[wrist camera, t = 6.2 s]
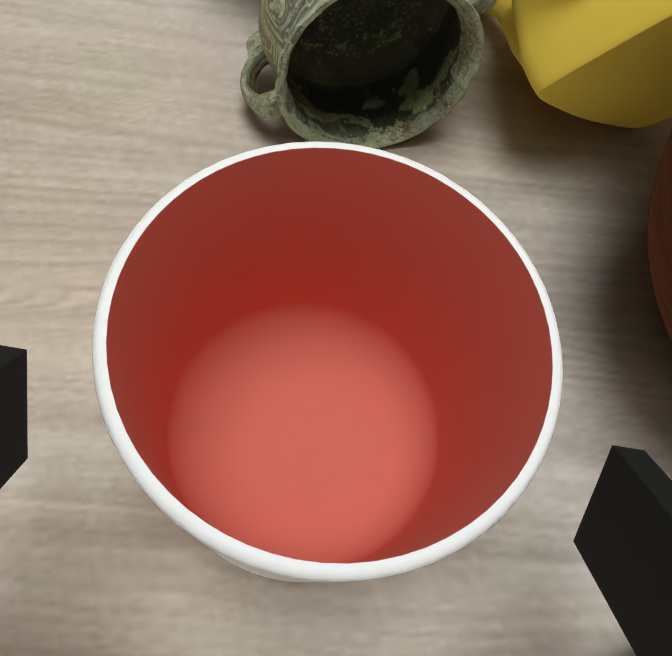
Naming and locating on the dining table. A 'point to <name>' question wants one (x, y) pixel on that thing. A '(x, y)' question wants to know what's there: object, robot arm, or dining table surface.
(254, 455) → the cup
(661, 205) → the bowl
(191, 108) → the dining table surface
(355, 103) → the vessel
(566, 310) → the dining table surface
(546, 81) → the teapot
